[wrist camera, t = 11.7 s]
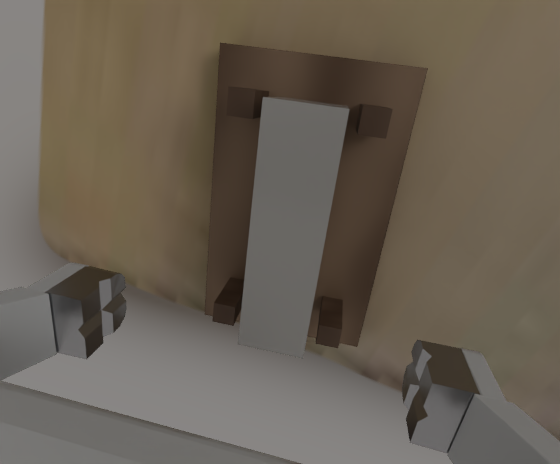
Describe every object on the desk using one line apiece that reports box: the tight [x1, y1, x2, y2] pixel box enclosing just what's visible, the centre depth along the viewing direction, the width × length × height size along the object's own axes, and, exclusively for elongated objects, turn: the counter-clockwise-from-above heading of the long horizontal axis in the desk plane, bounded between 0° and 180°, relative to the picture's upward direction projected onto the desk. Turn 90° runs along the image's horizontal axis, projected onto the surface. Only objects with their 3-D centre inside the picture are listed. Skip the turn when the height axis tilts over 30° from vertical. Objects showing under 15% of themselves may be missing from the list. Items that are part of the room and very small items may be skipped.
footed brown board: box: [205, 43, 428, 348], centre depth 19 cm, size 10×16×4 cm, turn 173°
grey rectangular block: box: [238, 97, 349, 358], centre depth 18 cm, size 3×12×4 cm, turn 173°
